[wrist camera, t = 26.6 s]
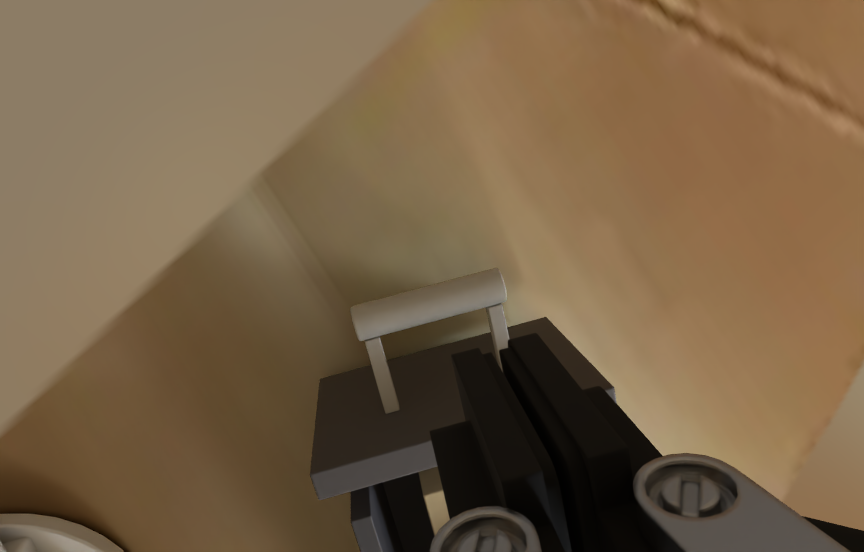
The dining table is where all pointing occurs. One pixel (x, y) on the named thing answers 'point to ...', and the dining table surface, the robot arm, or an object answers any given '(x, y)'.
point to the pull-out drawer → (410, 406)
